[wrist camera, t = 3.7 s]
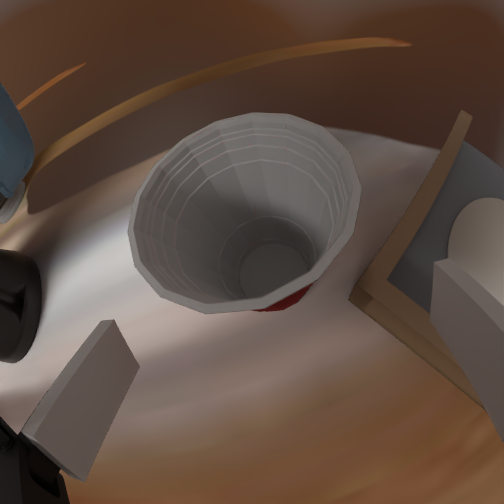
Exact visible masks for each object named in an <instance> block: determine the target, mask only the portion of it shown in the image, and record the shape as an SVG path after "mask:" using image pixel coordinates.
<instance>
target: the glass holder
mask: <svg viewBox="0 0 504 504" xmlns="http://www.w3.org/2000/svg"><path fill="white" fill-rule="evenodd" d="M24 192H25V182H24V181H21V182H20V183H19V185H18V186H17V188H16V189H15V192H14V195H13V196H12V198H9V199H8V201H7V202H6V203H5V205H4V206H3V207H2V209H1V210H0V222H1V223H6V222H7V221H8V220H9V219H10V218H11V217H12V216H13V214H14V213H15V211H16V210H17V208H18V206H19V204H20V202H21V200H22V198H23V195H24Z"/></svg>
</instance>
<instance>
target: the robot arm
mask: <svg viewBox="0 0 504 504" xmlns="http://www.w3.org/2000/svg"><path fill="white" fill-rule="evenodd" d="M34 156H35V152H34V145H33V142H32V138H31V135H30V133H29V131H28V129H27V127H26V124H25V122H24V120H23V119H22V117H21V115H20V113H19V111H18V109H17V108H16V106H15V104H14V103H13V101H12V99H11V98H10V96H9V95H8V93H7V91H6V90H5V88H4V87H3V86H2V84H1V83H0V210H1V209H2V207H3V206H4V205H5V203H6V202H7V201H8V199H9V198H12V196H13V195H14V192H15V189H16V188H17V186H18V185H19V183H20V182H21V181H22V179H23V178H24V177H25V175H26V174H27V173H28V172H29V170H30V169H31V167H32V165H33V162H34ZM40 305H41V282H40V276H39V272H38V269H37V266H36V264H35V263H34V261H33V260H32V259H31V258H29V257H27V256H26V255H24V254H22V253H20V252H17V251H10V250H3V249H0V361H2V362H7V363H16V362H18V361H19V360H21V359H22V358H23V357H24V355H25V354H26V353H27V351H28V349H29V347H30V345H31V343H32V341H33V338H34V335H35V332H36V328H37V324H38V319H39V314H40ZM429 321H430V322H431V324H432V325H433V326H434V328H435V329H436V331H437V332H438V334H439V335H440V337H441V338H442V339H443V341H444V342H445V344H446V345H447V347H448V348H449V350H450V351H451V353H452V354H453V356H454V358H455V359H456V361H457V362H458V364H459V365H460V367H461V368H462V370H463V372H464V373H465V375H466V377H467V378H468V380H469V382H470V383H471V385H472V387H473V388H474V390H475V392H476V393H477V395H478V397H479V399H480V400H481V402H482V404H483V406H484V408H485V409H486V411H487V413H488V415H489V417H490V419H491V421H492V422H493V424H494V426H495V428H496V430H497V432H498V434H499V436H500V438H501V440H502V442H503V441H504V306H503V305H502V304H501V303H500V302H499V301H498V300H497V299H496V298H494V297H493V296H492V295H491V294H490V293H489V292H488V291H487V290H486V289H485V288H484V287H483V286H481V285H480V284H479V283H478V282H477V281H476V280H475V279H474V278H472V277H471V276H470V275H469V274H468V273H467V272H465V271H464V270H463V269H462V268H461V267H460V266H458V265H457V264H456V263H455V262H454V261H452V260H451V259H450V258H447V259H444V260H440V261H436V262H434V271H433V287H432V299H431V309H430V318H429ZM139 367H140V366H139V364H138V362H137V361H136V359H135V357H134V356H133V354H132V352H131V350H130V349H129V347H128V345H127V343H126V341H125V339H124V338H123V336H122V334H121V332H120V330H119V328H118V326H117V324H116V322H115V320H104V321H101V322H100V323H99V324H98V326H97V327H96V328H95V329H94V331H93V332H92V333H91V334H90V336H89V337H88V338H87V339H86V341H85V342H84V343H83V344H82V346H81V347H80V348H79V350H78V351H77V352H76V354H75V355H74V356H73V357H72V359H71V360H70V361H69V363H68V364H67V365H66V367H65V368H64V369H63V371H62V372H61V374H60V375H59V376H58V378H57V379H56V380H55V382H54V383H53V385H52V386H51V387H50V389H49V390H48V391H47V392H46V394H45V395H44V397H43V398H42V400H41V401H40V403H39V404H38V405H37V408H35V410H34V411H33V413H32V414H31V416H30V417H29V419H28V420H27V422H26V423H25V425H24V427H23V428H22V430H21V431H20V433H19V434H18V435H17V434H16V433H15V432H14V431H13V430H12V429H11V428H10V426H9V425H8V424H7V423H6V422H5V421H4V420H3V419H2V418H1V417H0V504H70V502H69V499H68V495H67V491H66V486H65V482H64V479H63V476H62V475H61V474H60V473H59V471H60V469H62V470H63V471H64V472H65V473H67V474H68V475H69V476H70V477H72V478H75V479H78V480H80V481H83V482H85V481H86V479H87V476H88V474H89V472H90V469H91V467H92V465H93V463H94V460H95V458H96V456H97V454H98V452H99V449H100V447H101V445H102V443H103V441H104V439H105V436H106V434H107V432H108V430H109V428H110V426H111V424H112V422H113V420H114V418H115V415H116V413H117V411H118V409H119V407H120V405H121V403H122V401H123V399H124V397H125V395H126V393H127V391H128V389H129V387H130V385H131V383H132V381H133V379H134V377H135V375H136V373H137V371H138V369H139Z"/></svg>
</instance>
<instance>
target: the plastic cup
mask: <svg viewBox="0 0 504 504" xmlns="http://www.w3.org/2000/svg"><path fill="white" fill-rule="evenodd" d="M361 192H362V187H361V184H360V181H359V178H358V175H357V172H356V169H355V166H354V163H353V160H352V157H351V154H350V152H349V151H348V150H347V149H346V148H345V147H344V146H343V145H342V144H341V143H340V142H339V141H338V140H337V139H336V138H335V137H334V136H333V135H332V134H331V133H329V132H328V131H327V130H326V129H325V128H324V127H322V126H320V125H317V124H315V123H312V122H309V121H307V120H304V119H301V118H298V117H296V116H293V115H290V114H277V113H249V114H244V115H240V116H236V117H232V118H227V119H224V120H220V121H216V122H214V123H212V124H210V125H208V126H206V127H204V128H202V129H200V130H198V131H196V132H195V133H193V134H191V135H189V136H187V137H185V138H184V139H182V140H181V141H180V142H178V143H177V144H176V145H175V146H174V147H173V148H172V149H171V150H170V151H169V152H167V153H166V154H165V155H164V156H163V157H162V158H161V159H160V160H159V161H158V162H157V163H156V164H155V165H154V166H153V168H152V169H151V171H150V173H149V174H148V176H147V177H146V179H145V181H144V182H143V184H142V186H141V187H140V189H139V191H138V192H137V194H136V196H135V199H134V204H133V208H132V213H131V217H130V222H129V227H128V236H129V241H130V246H131V251H132V256H133V261H134V265H135V268H136V269H137V270H138V271H139V273H140V274H141V275H142V276H143V277H144V279H145V280H146V281H147V282H148V283H149V284H150V286H151V287H152V288H153V289H154V290H155V292H156V293H157V294H158V295H159V296H160V297H162V298H164V299H167V300H169V301H172V302H174V303H177V304H180V305H182V306H185V307H188V308H190V309H193V310H196V311H198V312H201V313H204V314H214V313H226V312H237V311H247V310H253V311H258V312H262V311H266V312H269V311H279V310H284V309H286V308H288V307H290V306H292V305H294V304H295V303H297V302H298V301H299V300H300V299H301V298H302V296H303V295H304V294H305V293H306V292H307V290H308V289H309V288H310V287H311V285H312V284H313V283H314V282H315V281H317V280H318V279H319V277H320V276H321V275H322V274H323V272H324V271H325V270H326V269H327V267H328V266H329V265H330V264H331V262H332V261H333V260H334V258H335V257H336V256H337V255H338V253H339V252H340V251H341V249H342V248H343V247H344V245H345V244H346V243H347V242H348V240H349V239H350V238H351V236H352V235H353V233H354V228H355V223H356V218H357V213H358V208H359V203H360V197H361Z"/></svg>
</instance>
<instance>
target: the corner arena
mask: <svg viewBox="0 0 504 504" xmlns="http://www.w3.org/2000/svg"><path fill="white" fill-rule="evenodd" d="M471 120H472V116H471V115H469V114H468V113H466V112H465V111H463V110H461V112H460V114H459V116H458V118H457V120H456V122H455V124H454V126H453V129H452V131H451V133H450V134H449V136H448V138H447V140H446V142H445V144H444V146H443V148H442V150H441V152H440V154H439V155H438V157H437V159H436V161H435V163H434V165H433V166H432V168H431V170H430V172H429V174H428V175H427V177H426V179H425V181H424V182H423V184H422V186H421V187H420V189H419V191H418V192H417V194H416V196H415V197H414V199H413V201H412V202H411V204H410V206H409V207H408V209H407V210H406V212H405V214H404V215H403V217H402V218H401V220H400V221H399V223H398V224H397V226H396V228H395V229H394V231H393V232H392V234H391V235H390V237H389V238H388V240H387V241H386V243H385V244H384V245H383V247H382V248H381V250H380V251H379V253H378V254H377V256H376V257H375V258H374V260H373V261H372V263H371V264H370V265H369V267H368V268H367V270H366V271H365V272H364V274H363V275H362V276H361V278H360V279H359V280H358V282H357V283H356V285H355V287H354V289H353V291H352V293H351V295H350V297H349V299H348V300H349V301H350V302H351V303H353V304H354V305H355V306H356V307H358V308H359V309H360V310H362V311H363V312H364V313H365V314H367V315H368V316H369V317H371V318H372V319H373V320H374V321H376V322H377V323H378V324H380V325H381V326H382V327H383V328H385V329H386V330H387V331H388V332H390V333H391V334H392V335H394V336H395V337H396V338H397V339H399V340H400V341H401V342H402V343H404V344H405V345H406V346H407V347H409V348H410V349H411V350H412V351H414V352H415V353H416V354H417V355H419V356H420V357H421V358H422V359H424V360H425V361H426V362H427V363H429V364H430V365H431V366H432V367H434V368H435V369H436V370H437V371H439V372H440V373H441V374H442V375H443V376H445V377H446V378H447V379H448V380H450V381H451V382H452V383H453V384H454V385H456V386H457V387H458V388H459V389H461V390H462V391H463V392H464V393H465V394H467V395H468V396H469V397H470V398H471V399H473V400H474V401H475V402H476V403H477V404H479V405H480V406H481V407H482V408H483V409H485V408H484V406H483V404H482V402H481V400H480V399H479V397H478V395H477V393H476V392H475V390H474V388H473V387H472V385H471V383H470V382H469V380H468V378H467V377H466V375H465V373H464V372H463V370H462V368H461V367H460V365H459V364H458V362H457V361H456V359H455V358H454V356H453V354H452V353H451V351H450V350H449V348H448V347H447V345H446V344H445V342H444V341H443V339H442V338H441V337H440V335H439V334H438V332H437V331H436V329H435V328H434V326H433V325H432V324H431V322H430V321H429V318H430V309H431V299H432V287H433V271H434V262H436V261H440V260H444V259H447V258H450V259H451V260H452V261H454V262H455V263H456V264H457V265H458V266H460V267H461V268H462V269H463V270H464V271H465V272H467V273H468V274H469V275H470V276H471V277H472V278H474V279H475V280H476V281H477V282H478V283H479V284H480V285H481V286H483V287H484V288H485V289H486V290H487V291H488V292H489V293H490V294H491V295H492V296H493V297H494V298H496V299H497V300H498V301H499V302H500V303H501V304H502V305H503V306H504V170H503V169H502V168H501V167H500V166H498V165H497V164H496V163H495V162H493V161H492V160H491V159H489V158H488V157H487V156H485V155H484V154H482V153H481V152H480V151H479V150H477V149H476V148H474V147H473V146H471V145H470V144H469V143H467V142H466V141H464V137H465V135H466V133H467V130H468V128H469V125H470V123H471ZM485 410H486V409H485Z"/></svg>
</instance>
